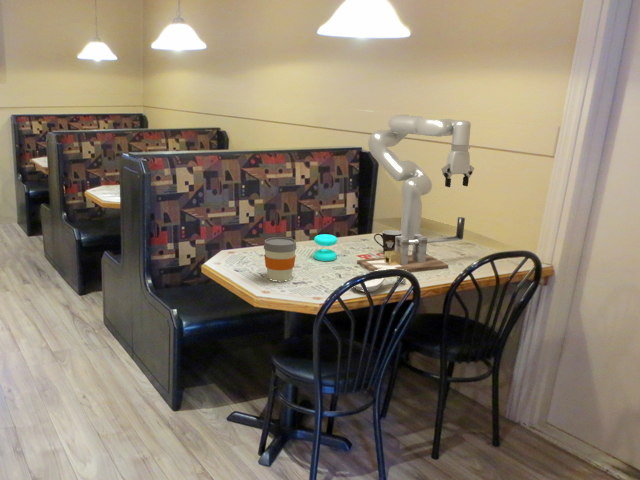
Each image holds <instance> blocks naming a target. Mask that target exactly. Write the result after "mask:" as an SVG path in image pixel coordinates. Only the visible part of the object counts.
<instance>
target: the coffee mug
mask: <svg viewBox="0 0 640 480" xmlns="http://www.w3.org/2000/svg"><path fill="white" fill-rule="evenodd" d="M399 231H400V230H393V229H386V230H383V231H382V232H381V233H376V234H374V236H373V239H374V241H375V243H377V244H378V245H379V246H381V247H382V250H383V255H384V254H385V251H394V250H395V236H401V234H402V233H401V232H399ZM376 236H380V237H381V238H382V244H381V243H380V242H379V241H378V240H377V239H376Z"/></svg>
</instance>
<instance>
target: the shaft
mask: <svg viewBox="0 0 640 480" xmlns="http://www.w3.org/2000/svg"><path fill="white" fill-rule="evenodd" d="M465 220H466V217H464V216H460V217H459V216H458V217H457V222H456V235H452V236H450V235H449V236H440V237H431V238H428V237H427V244H433V243H434V244H435V243H444V242H455V241H463V240H464V231H465ZM414 244H419V239H417V240H409V246H413V245H414ZM399 246H401V241H399Z"/></svg>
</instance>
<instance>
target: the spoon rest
mask: <svg viewBox="0 0 640 480" xmlns="http://www.w3.org/2000/svg"><path fill="white" fill-rule="evenodd" d="M386 269H396V268H395V267H391V266H388V267H384V268H381V269H378V270H386ZM378 270H375V271H378ZM398 279H399V277H397V276H396V281H397V280H398ZM385 280H386V278H382V279H375V280H371V281H368V282H365V285H366V287H367V289H368V291H369V292H368V293H373V292H375V291H376V290H378V289H379V288H380V287H381V286H382V285H383V283H384V281H385ZM406 281H407V280H406V278H405V279H403V281H402V283H401V284H403V285H406V283H407V282H406ZM353 288H354V289H355V288H356V289H355V290H357V289H358V290H357V291H359V290H363V289H362V287H361V286H358V285H357V286H355V287H353Z"/></svg>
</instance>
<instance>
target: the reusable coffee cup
mask: <svg viewBox="0 0 640 480" xmlns="http://www.w3.org/2000/svg"><path fill="white" fill-rule="evenodd" d="M263 249H264V253H265V254H264V256H263V258H264V263H265V268H266V272H267V279H268V278H269V279H272V280H277V281H285V280H289V279H291V280H292V275H293V269H294V267H295V262H296V250H297V242H296V240H295V239H293V238H291V237H284V236H283V237H282V236H281V237H280V236H278V237H277V236H275V237H274V236H273V237H269V238H266V239H264V243H263ZM269 279H268V280H269ZM289 281H290V280H289Z"/></svg>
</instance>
